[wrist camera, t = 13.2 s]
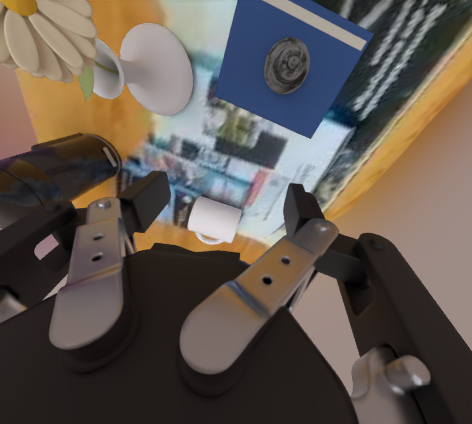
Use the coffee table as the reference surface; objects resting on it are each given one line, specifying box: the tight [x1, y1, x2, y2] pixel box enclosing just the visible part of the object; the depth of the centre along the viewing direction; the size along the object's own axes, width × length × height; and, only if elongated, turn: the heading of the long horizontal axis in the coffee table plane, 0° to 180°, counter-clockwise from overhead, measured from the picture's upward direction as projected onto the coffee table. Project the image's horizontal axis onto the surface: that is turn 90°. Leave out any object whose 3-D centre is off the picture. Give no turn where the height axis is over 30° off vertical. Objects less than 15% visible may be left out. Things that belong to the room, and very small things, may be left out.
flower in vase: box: [0, 0, 193, 116], centre depth 19 cm, size 13×11×25 cm
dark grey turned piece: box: [264, 37, 310, 94], centre depth 22 cm, size 6×6×12 cm
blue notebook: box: [215, 0, 374, 139], centre depth 27 cm, size 18×14×1 cm
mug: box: [188, 196, 242, 244], centre depth 42 cm, size 12×10×8 cm
